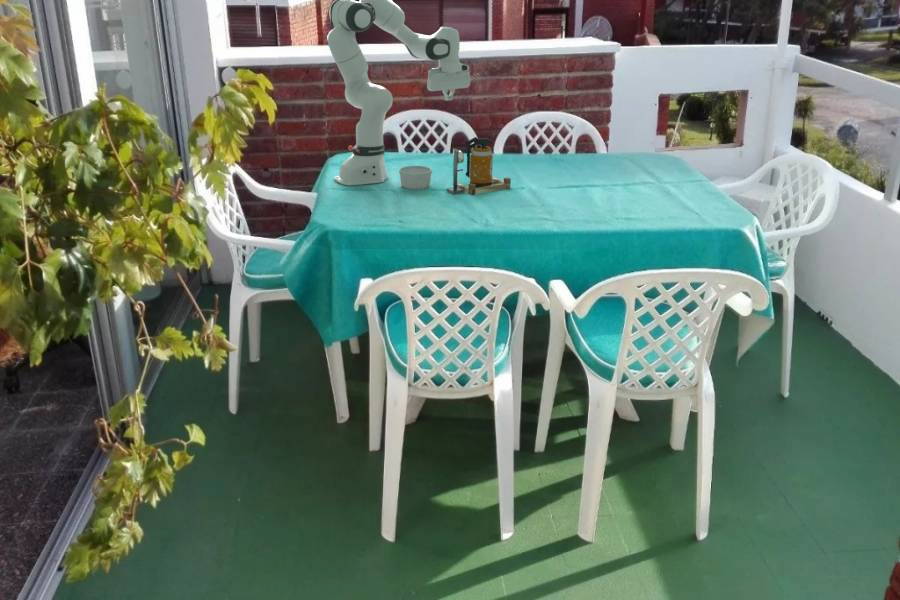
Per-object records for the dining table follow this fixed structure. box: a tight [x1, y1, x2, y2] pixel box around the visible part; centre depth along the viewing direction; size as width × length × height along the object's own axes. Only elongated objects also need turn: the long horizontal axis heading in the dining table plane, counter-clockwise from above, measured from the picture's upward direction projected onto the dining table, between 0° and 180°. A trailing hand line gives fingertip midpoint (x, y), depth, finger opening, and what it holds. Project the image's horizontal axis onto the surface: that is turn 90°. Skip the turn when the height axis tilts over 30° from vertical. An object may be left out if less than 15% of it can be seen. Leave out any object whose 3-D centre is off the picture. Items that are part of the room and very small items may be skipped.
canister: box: [464, 136, 494, 188], centre depth 338 cm, size 9×11×20 cm
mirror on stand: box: [445, 148, 465, 195], centre depth 331 cm, size 6×5×17 cm
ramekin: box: [398, 165, 433, 191], centre depth 341 cm, size 13×13×7 cm
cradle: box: [457, 176, 512, 196], centre depth 339 cm, size 13×20×4 cm, turn 125°
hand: (448, 100), depth 360 cm, fingers closed
